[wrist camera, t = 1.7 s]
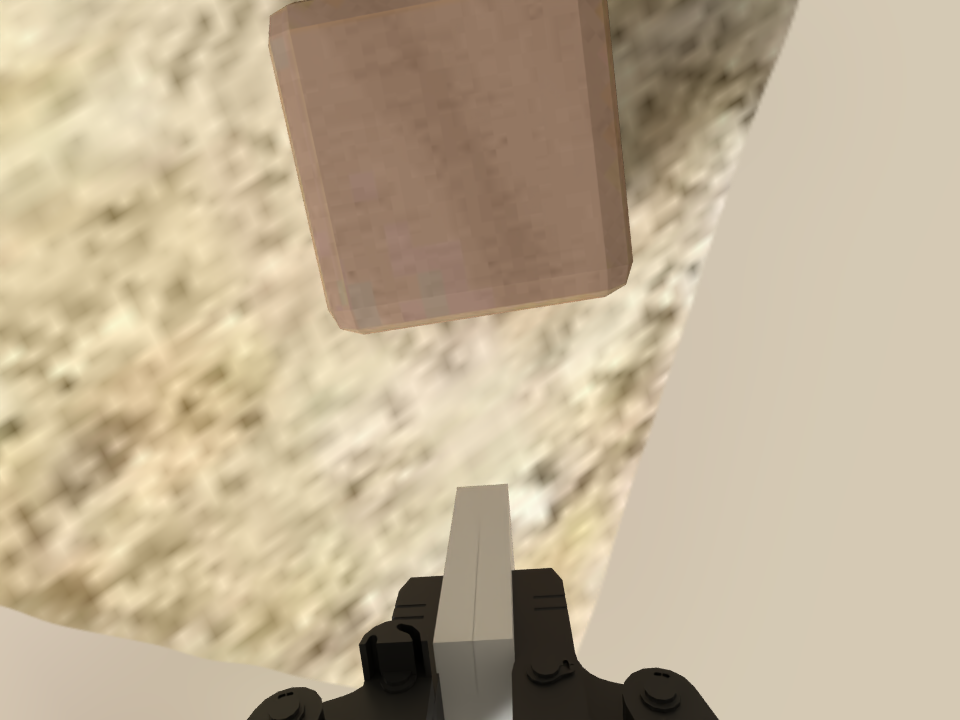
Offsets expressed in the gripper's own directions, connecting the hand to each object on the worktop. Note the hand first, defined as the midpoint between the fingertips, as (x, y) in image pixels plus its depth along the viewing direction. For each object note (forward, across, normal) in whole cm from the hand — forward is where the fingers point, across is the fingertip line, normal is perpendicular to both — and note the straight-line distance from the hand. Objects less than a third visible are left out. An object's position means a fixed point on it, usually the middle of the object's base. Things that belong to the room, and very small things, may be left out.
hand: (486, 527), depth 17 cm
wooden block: (+22, 0, +11) cm, 25 cm away
